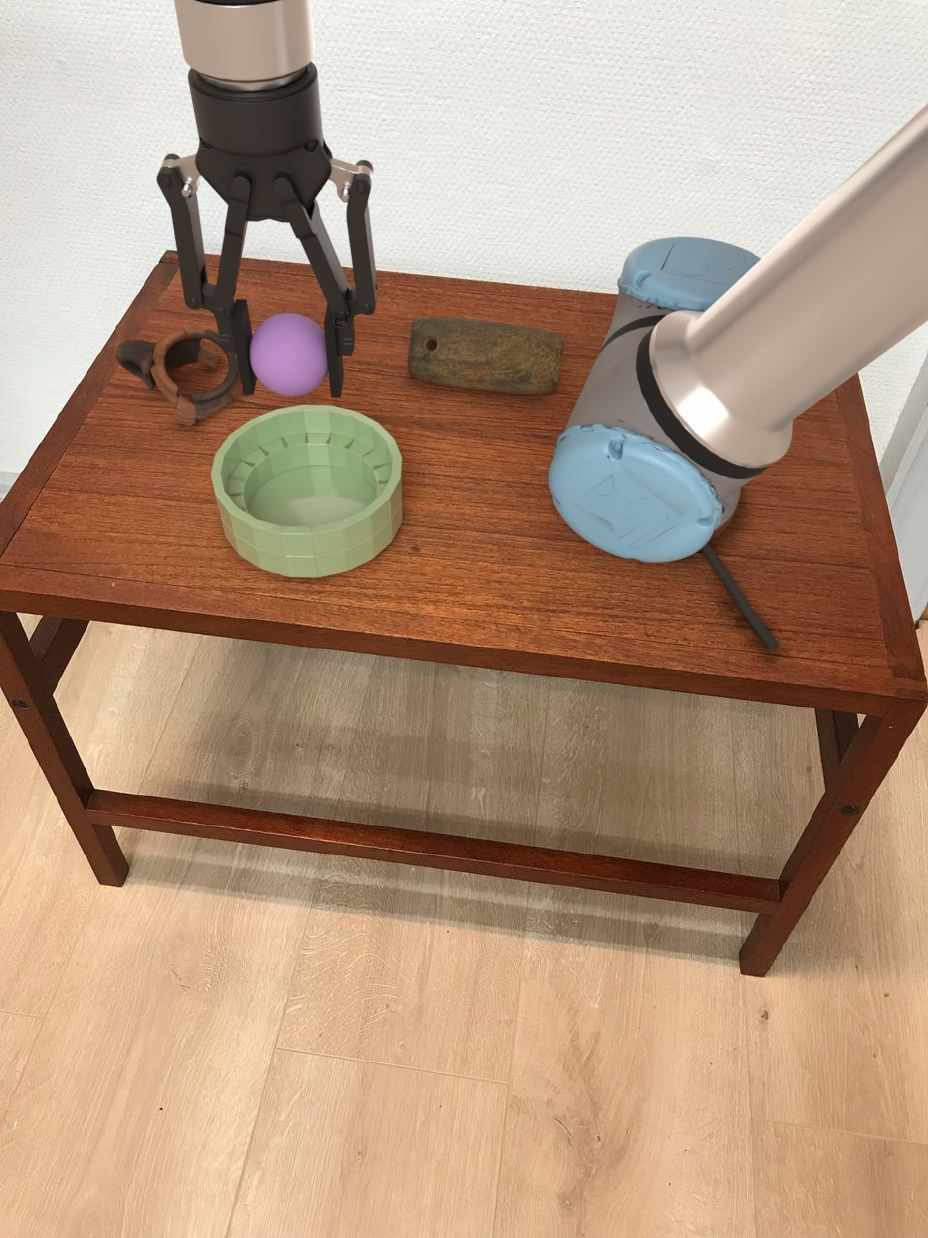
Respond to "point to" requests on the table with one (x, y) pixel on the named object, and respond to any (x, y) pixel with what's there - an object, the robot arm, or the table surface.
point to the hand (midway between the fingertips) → (294, 384)
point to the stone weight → (484, 355)
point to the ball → (289, 354)
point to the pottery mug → (172, 354)
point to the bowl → (309, 490)
